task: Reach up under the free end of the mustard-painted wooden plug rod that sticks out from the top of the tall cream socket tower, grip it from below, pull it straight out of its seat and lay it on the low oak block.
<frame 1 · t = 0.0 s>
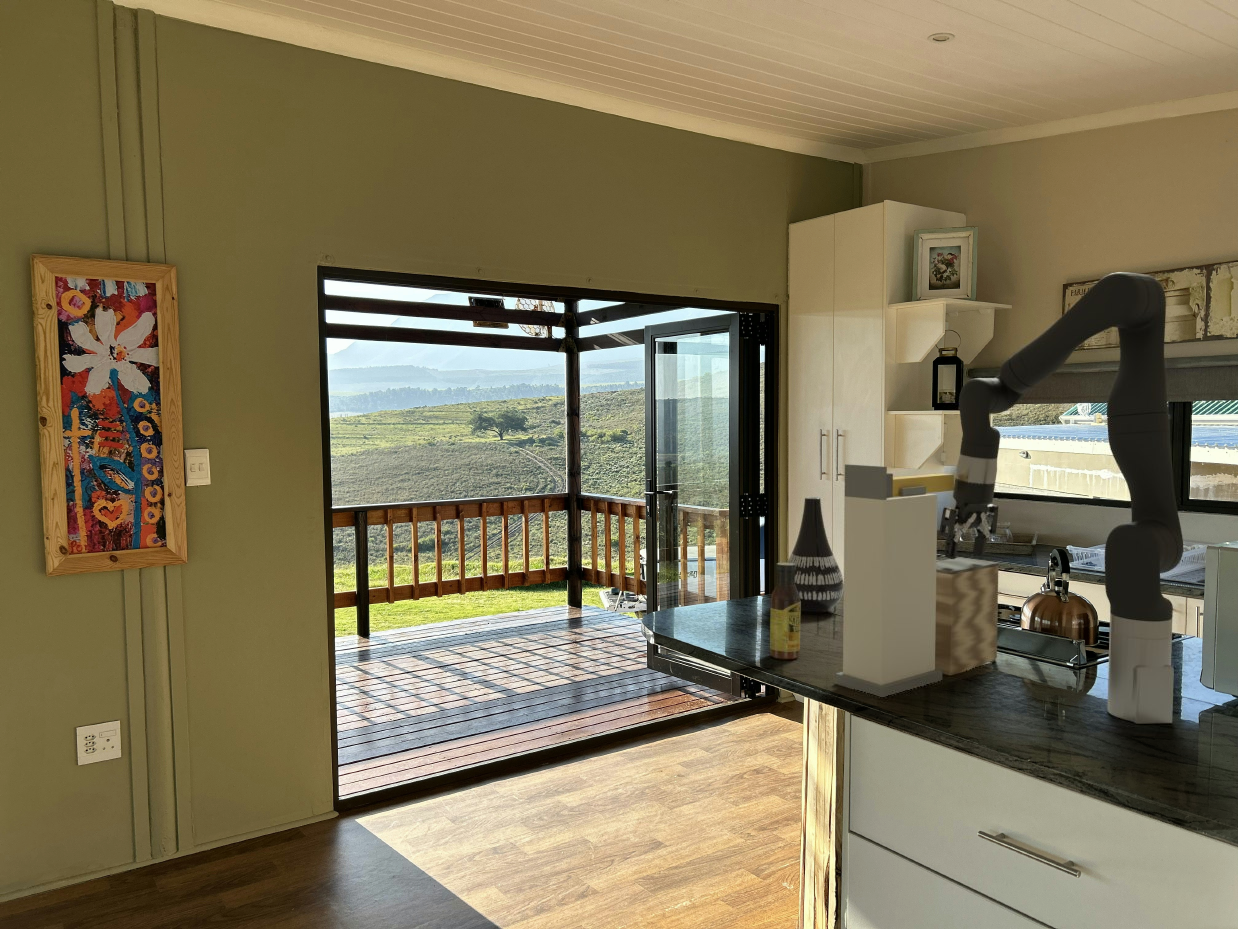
hand: (964, 556, 187), 22 cm above the worktop, tool pointing down, fingers open, 8 cm apart
sauce bottle: (785, 657, 196), on the worktop
socket tower: (889, 682, 177), on the worktop
plug rod: (909, 493, 178), point 36 cm above the worktop, touching socket tower
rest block: (954, 663, 190), on the worktop
vase: (811, 612, 238), on the worktop
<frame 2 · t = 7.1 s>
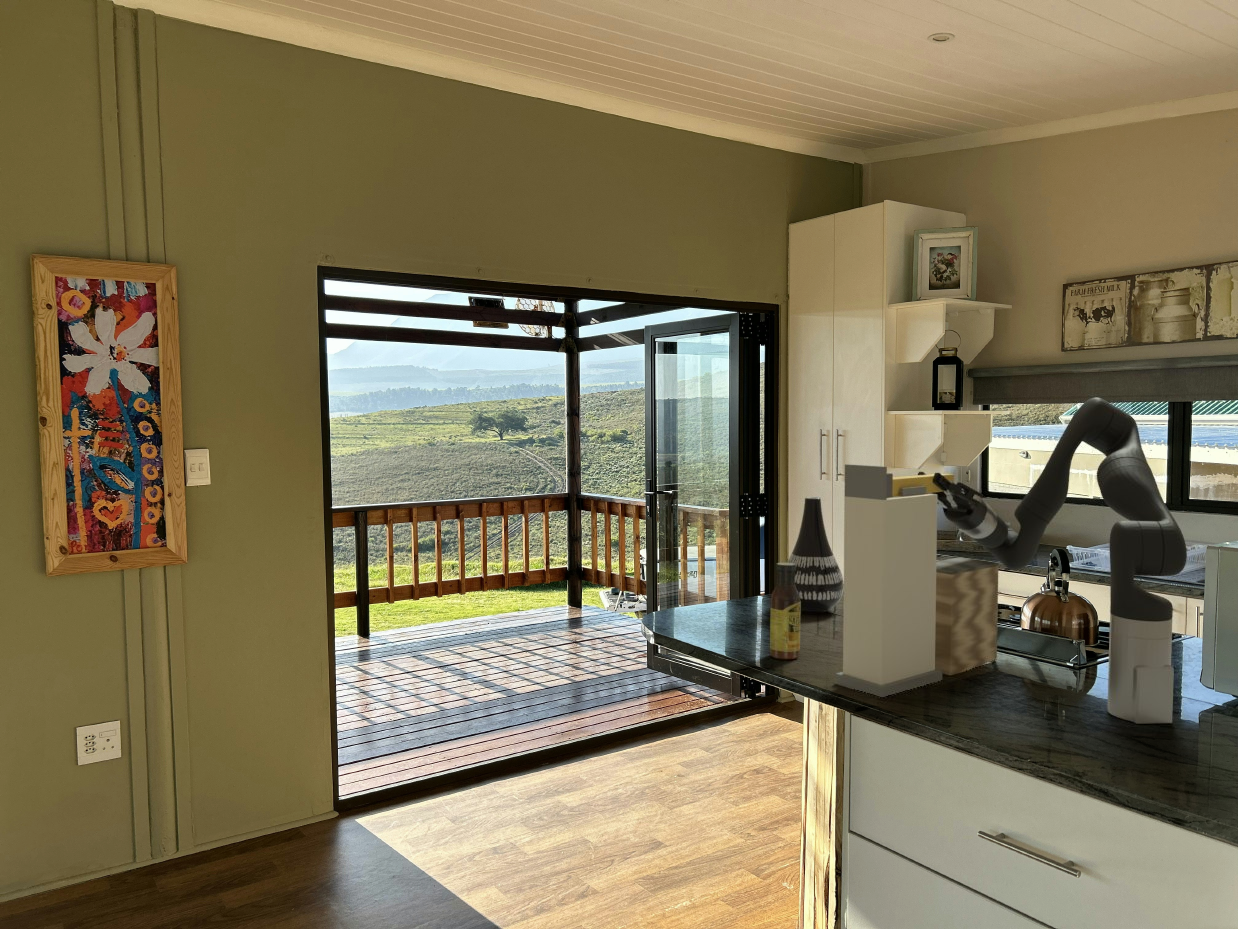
hand: (927, 476, 181), 39 cm above the worktop, tool pointing upward, fingers closed on plug rod, 3 cm apart
plug rod: (909, 493, 178), point 36 cm above the worktop, touching gripper, socket tower
everything else where it was.
when the fingers open (26 cm above the worktop, at t = 14.3 s): plug rod drops 1 cm, resting on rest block, socket tower.
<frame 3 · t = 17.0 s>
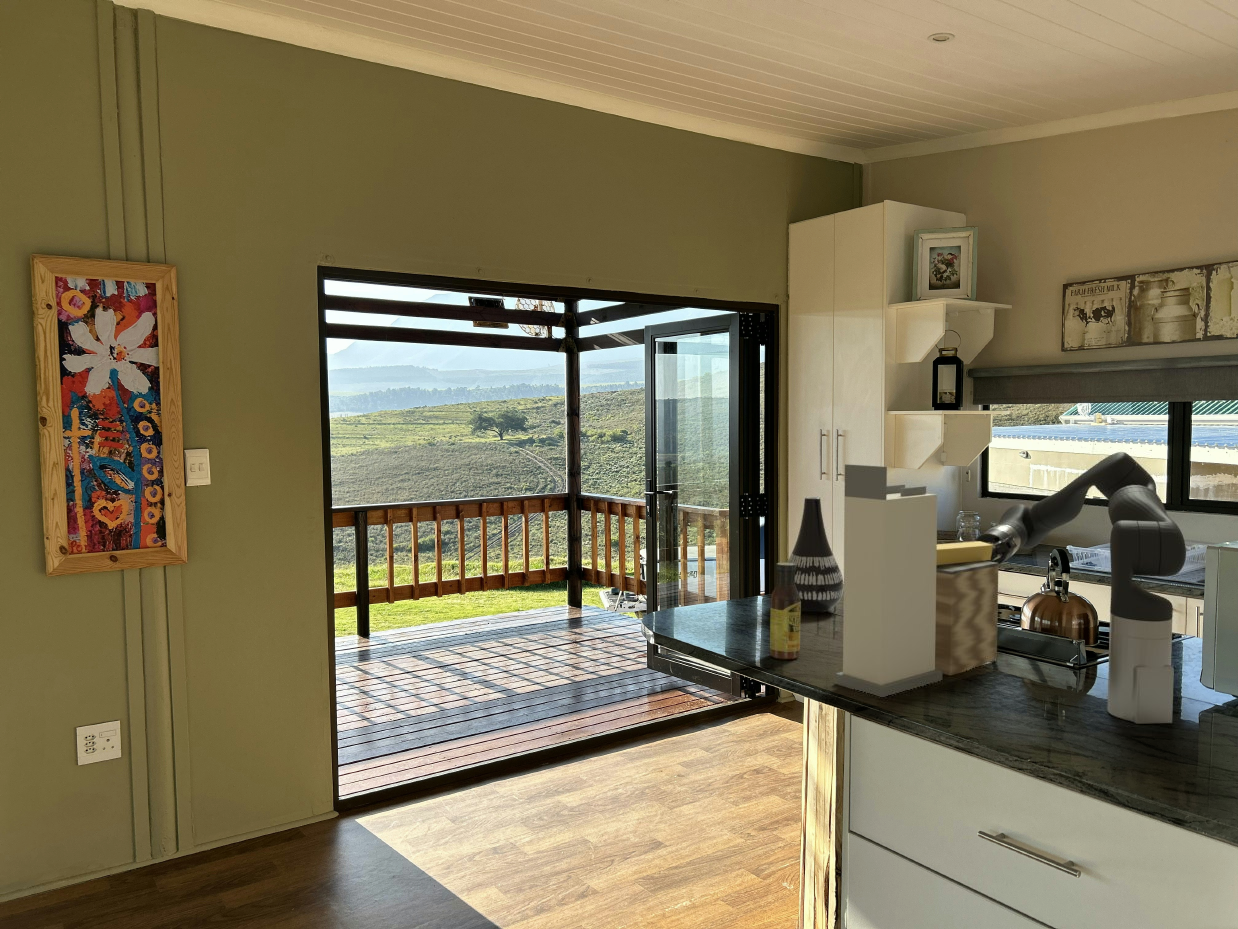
hand: (969, 564, 198), 19 cm above the worktop, tool horizontal, fingers open, 8 cm apart
plug rod: (948, 561, 188), point 21 cm above the worktop, tilted 8°, touching gripper, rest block, socket tower
everything else where it was.
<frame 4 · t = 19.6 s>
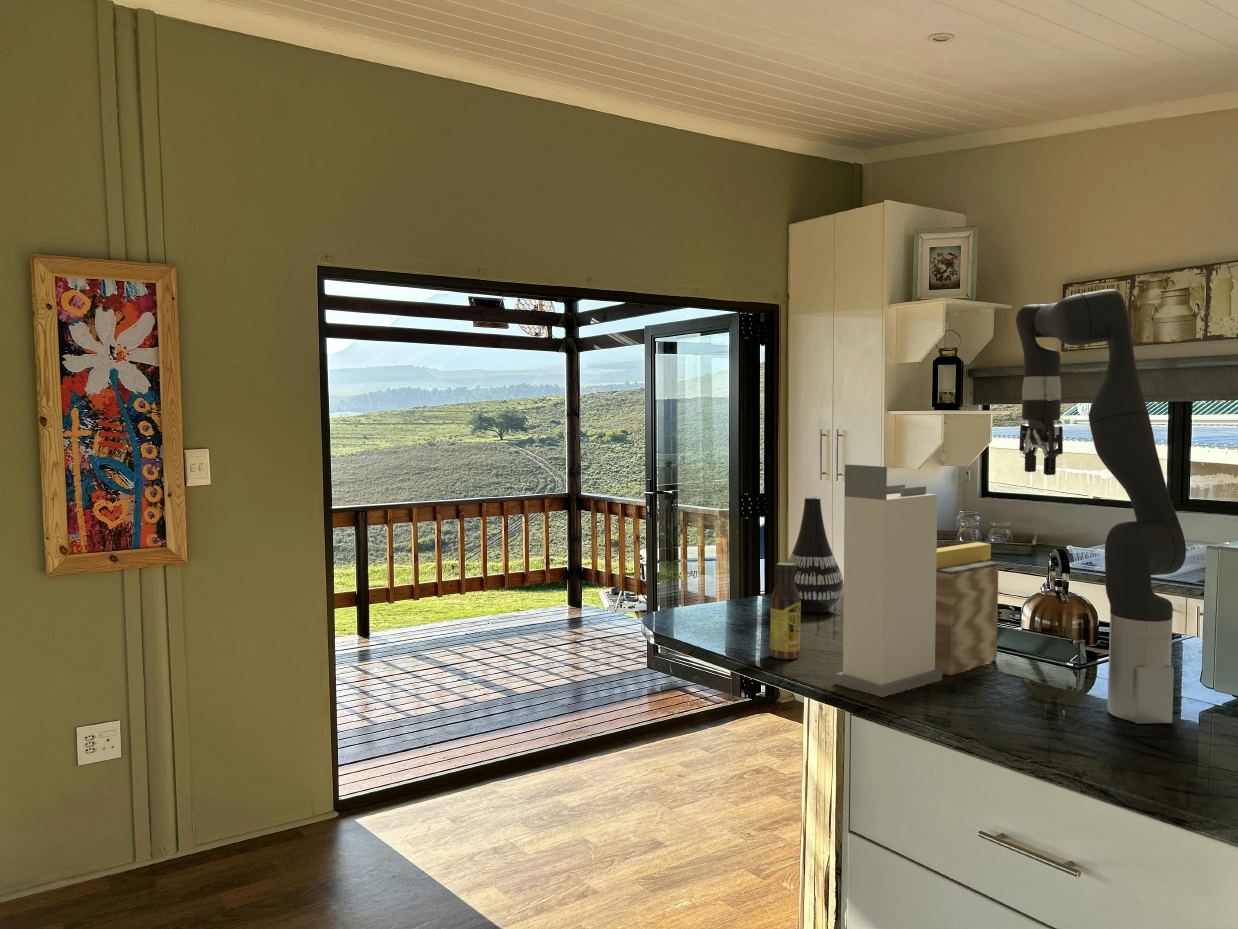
hand: (1039, 473, 199), 38 cm above the worktop, tool pointing down, fingers open, 8 cm apart
plug rod: (949, 564, 188), point 21 cm above the worktop, touching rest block
everything else where it was.
at the end: the gripper is holding nothing; plug rod inside the target area on the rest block (1.3 cm from its centre), point 20.6 cm above the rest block's base; plug rod moved 21.2 cm from its start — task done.
